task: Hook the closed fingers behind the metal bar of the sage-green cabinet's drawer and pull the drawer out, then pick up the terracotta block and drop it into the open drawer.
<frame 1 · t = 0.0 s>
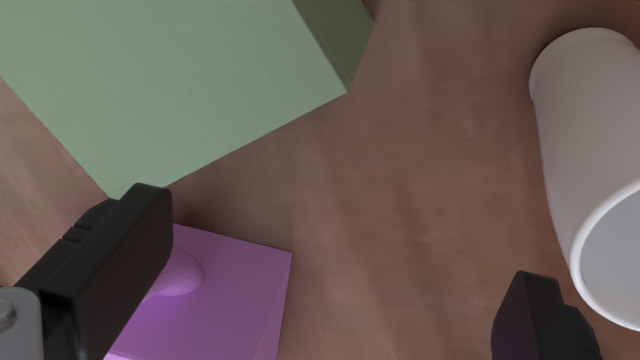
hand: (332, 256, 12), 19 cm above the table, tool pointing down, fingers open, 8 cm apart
teapot: (195, 277, 42), on the table
drinking glass: (579, 72, 28), on the table
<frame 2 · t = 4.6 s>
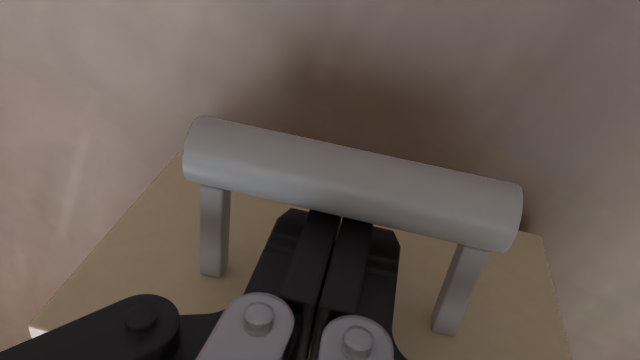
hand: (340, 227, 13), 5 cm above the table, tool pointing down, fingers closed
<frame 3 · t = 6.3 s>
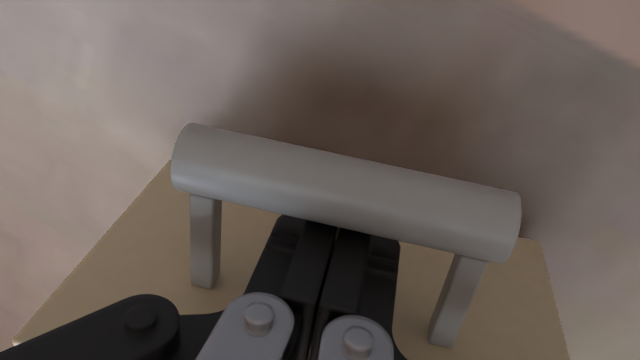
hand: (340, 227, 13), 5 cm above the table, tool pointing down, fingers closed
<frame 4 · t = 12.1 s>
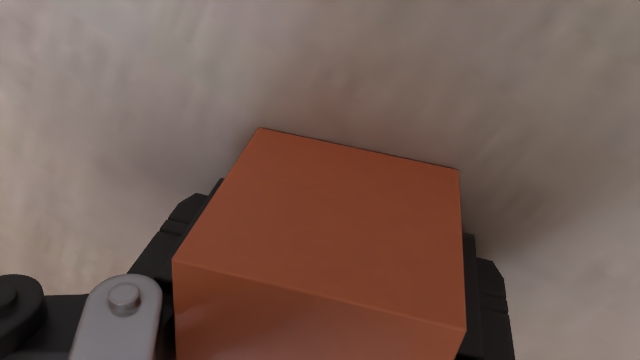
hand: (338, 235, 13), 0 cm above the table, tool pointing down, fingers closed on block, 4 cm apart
block: (341, 226, 13), on the table, touching gripper
when the fingers open (10 cm above the table, at t = 18.7 s): block drops 5 cm and tips over, resting on drawer.
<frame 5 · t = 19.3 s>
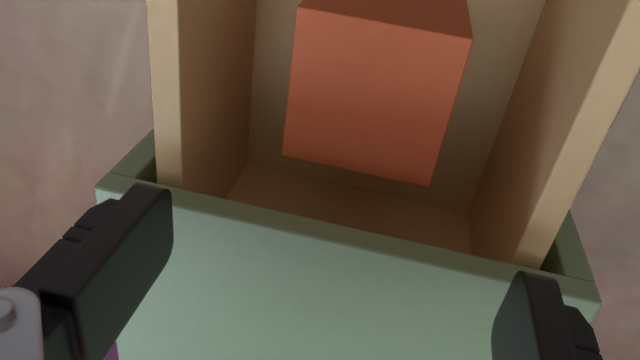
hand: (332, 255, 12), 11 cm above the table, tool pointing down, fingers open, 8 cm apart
cabinet: (347, 231, 25), on the table
block: (363, 137, 18), point 4 cm above the table, tilted 90°, touching drawer
drawer: (389, 6, 15), point 5 cm above the table, slide at 8.3 cm, touching block
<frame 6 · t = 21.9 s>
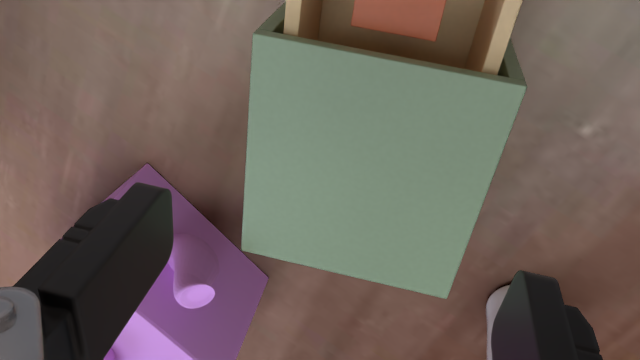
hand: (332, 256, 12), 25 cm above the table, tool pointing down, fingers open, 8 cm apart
cabinet: (378, 110, 37), on the table
teapot: (176, 246, 49), on the table
block: (395, 22, 29), point 4 cm above the table, tilted 90°, touching drawer
drinking glass: (517, 301, 44), on the table
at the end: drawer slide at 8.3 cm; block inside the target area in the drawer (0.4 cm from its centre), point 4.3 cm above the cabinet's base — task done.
